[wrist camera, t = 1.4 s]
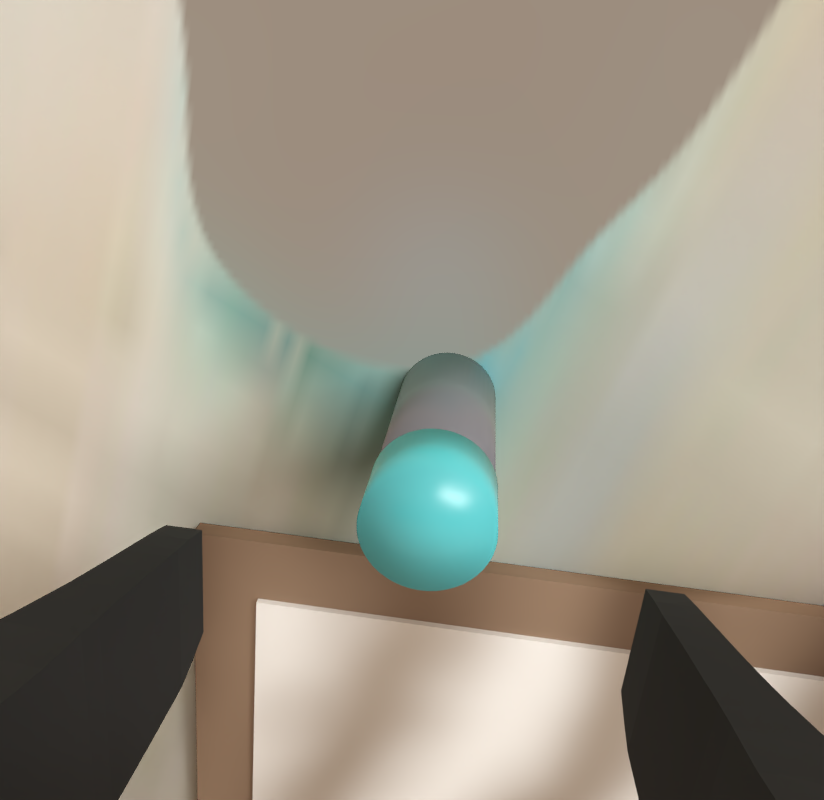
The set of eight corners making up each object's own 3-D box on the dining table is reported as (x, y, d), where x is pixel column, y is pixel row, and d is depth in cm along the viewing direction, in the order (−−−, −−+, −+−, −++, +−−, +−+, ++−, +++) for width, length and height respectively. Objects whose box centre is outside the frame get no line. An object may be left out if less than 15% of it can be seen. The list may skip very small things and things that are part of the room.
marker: (503, 357, 21) (507, 477, 14) (490, 448, 22) (488, 600, 15) (403, 345, 21) (361, 458, 14) (394, 436, 22) (352, 581, 15)
